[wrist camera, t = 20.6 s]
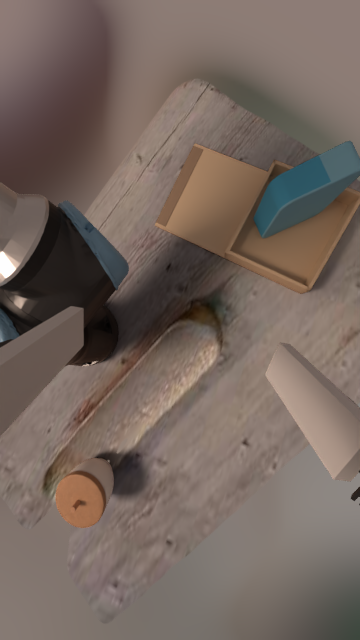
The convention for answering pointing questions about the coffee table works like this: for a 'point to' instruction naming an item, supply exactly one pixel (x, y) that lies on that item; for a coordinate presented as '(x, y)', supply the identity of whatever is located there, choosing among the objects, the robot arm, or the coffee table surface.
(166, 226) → the mailer box
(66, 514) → the lidded jar
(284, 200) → the data package
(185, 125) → the coffee table surface
